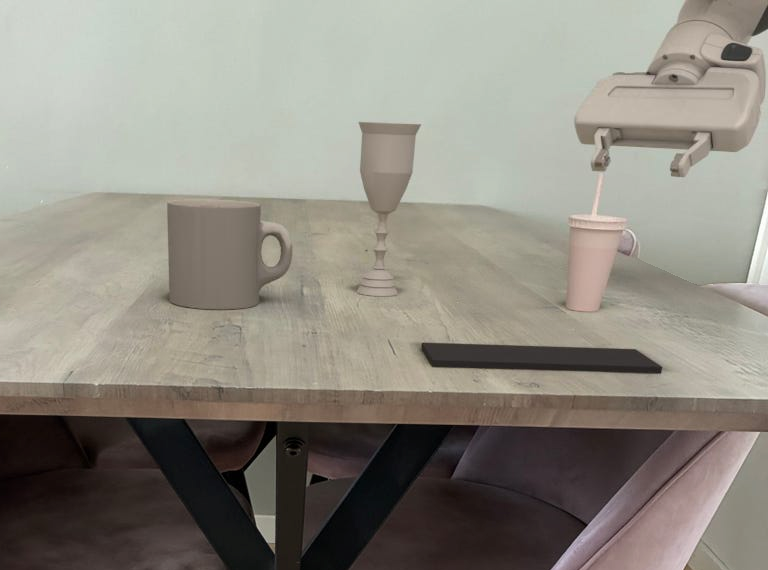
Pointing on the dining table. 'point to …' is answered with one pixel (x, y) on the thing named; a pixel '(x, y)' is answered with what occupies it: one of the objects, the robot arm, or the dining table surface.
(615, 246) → the smoothie
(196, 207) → the coffee mug
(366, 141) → the chalice
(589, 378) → the dining table surface
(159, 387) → the dining table surface
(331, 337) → the dining table surface
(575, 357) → the edge strip
